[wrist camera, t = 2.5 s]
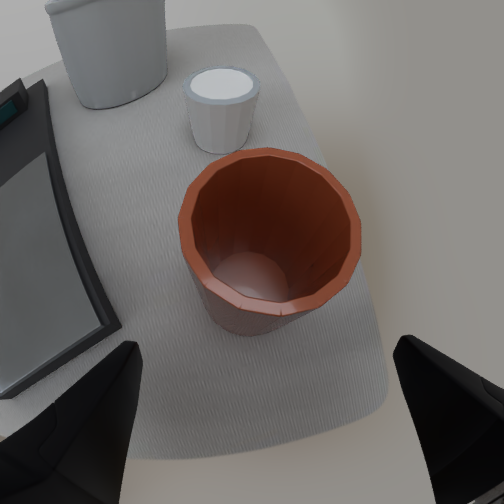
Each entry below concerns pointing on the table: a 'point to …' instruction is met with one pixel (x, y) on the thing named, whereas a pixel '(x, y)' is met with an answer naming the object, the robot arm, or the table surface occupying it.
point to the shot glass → (221, 106)
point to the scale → (41, 252)
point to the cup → (267, 238)
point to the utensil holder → (111, 47)
